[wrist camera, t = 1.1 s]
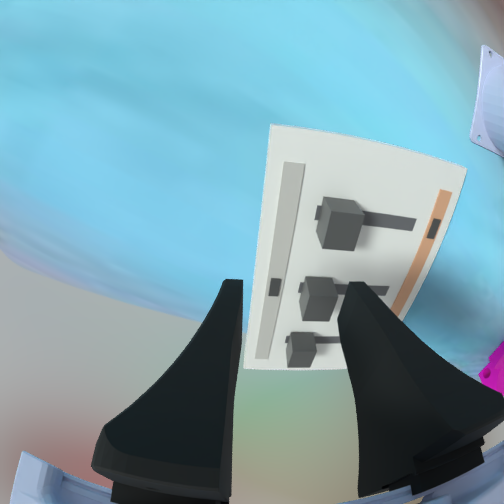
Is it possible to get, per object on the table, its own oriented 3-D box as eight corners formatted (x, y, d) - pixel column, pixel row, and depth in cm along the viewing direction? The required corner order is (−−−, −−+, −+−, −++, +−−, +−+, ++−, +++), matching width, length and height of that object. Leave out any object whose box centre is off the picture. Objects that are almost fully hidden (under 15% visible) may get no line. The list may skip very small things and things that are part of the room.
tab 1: (313, 332, 23) (317, 351, 21) (307, 349, 24) (310, 367, 23) (290, 332, 23) (292, 351, 21) (285, 349, 24) (287, 367, 23)
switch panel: (456, 162, 16) (469, 169, 15) (370, 356, 28) (373, 368, 27) (269, 121, 15) (271, 125, 14) (243, 356, 28) (243, 370, 26)
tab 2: (332, 277, 20) (338, 296, 18) (324, 302, 21) (329, 321, 19) (305, 276, 20) (309, 295, 18) (298, 301, 21) (302, 321, 19)
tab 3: (354, 200, 16) (364, 215, 15) (345, 234, 18) (354, 251, 16) (323, 196, 16) (331, 211, 15) (315, 231, 18) (322, 248, 16)
